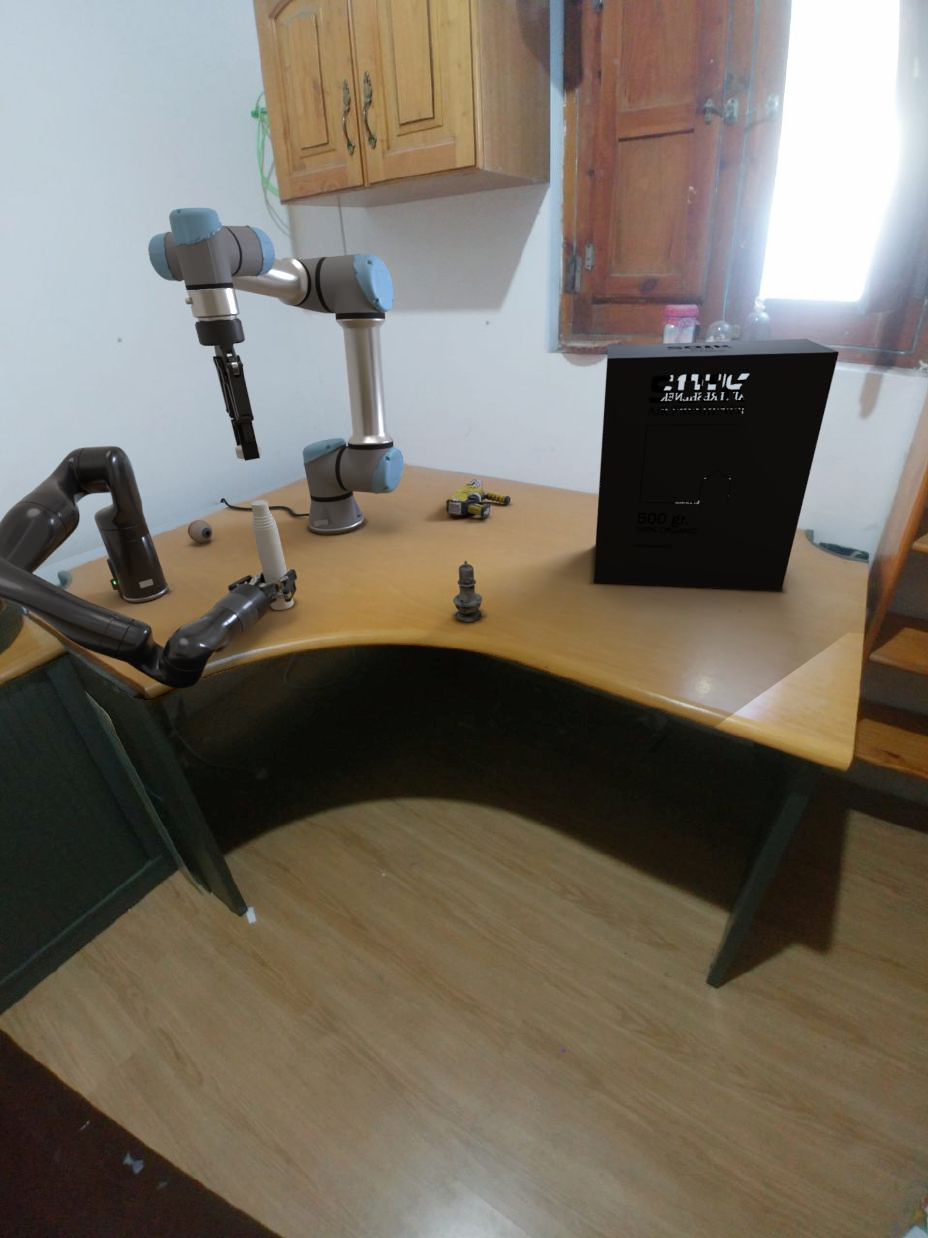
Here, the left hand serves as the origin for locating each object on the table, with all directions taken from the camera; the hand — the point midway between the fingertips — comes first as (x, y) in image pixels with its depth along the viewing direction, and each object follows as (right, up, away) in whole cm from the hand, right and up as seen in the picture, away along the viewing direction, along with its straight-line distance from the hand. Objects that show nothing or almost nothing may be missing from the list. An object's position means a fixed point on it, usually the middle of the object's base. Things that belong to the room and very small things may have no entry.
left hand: (282, 572), depth 128 cm
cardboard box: (+87, +2, +7) cm, 88 cm away
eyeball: (-32, +11, +35) cm, 49 cm away
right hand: (-2, +21, -15) cm, 26 cm away
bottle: (0, -7, +1) cm, 7 cm away
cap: (-2, +22, -16) cm, 27 cm away
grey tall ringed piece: (+40, -9, -7) cm, 41 cm away
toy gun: (+44, +23, +48) cm, 70 cm away
